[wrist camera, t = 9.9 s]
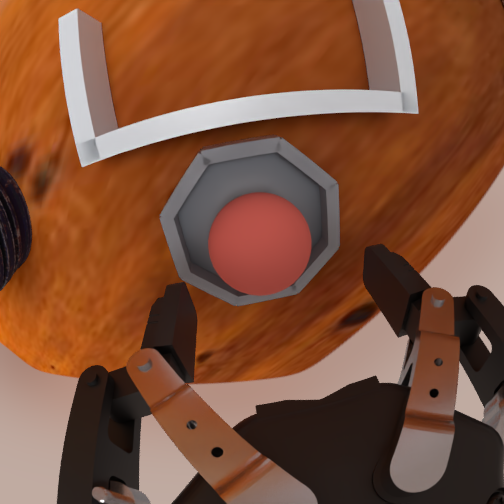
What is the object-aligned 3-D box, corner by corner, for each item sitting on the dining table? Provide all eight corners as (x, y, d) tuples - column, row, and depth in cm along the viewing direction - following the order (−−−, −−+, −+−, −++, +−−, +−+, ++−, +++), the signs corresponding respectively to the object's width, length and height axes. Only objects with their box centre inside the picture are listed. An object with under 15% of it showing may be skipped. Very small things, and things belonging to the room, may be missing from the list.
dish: (322, 129, 15) (334, 131, 14) (330, 271, 20) (339, 284, 19) (152, 159, 15) (144, 165, 13) (194, 298, 20) (193, 313, 19)
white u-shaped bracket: (364, -7, 10) (391, -23, 7) (386, 110, 15) (418, 113, 12) (85, 30, 10) (58, 18, 7) (106, 155, 14) (81, 167, 11)
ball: (292, 173, 16) (324, 204, 11) (299, 252, 19) (326, 304, 14) (200, 190, 16) (192, 229, 11) (220, 268, 18) (221, 325, 14)
